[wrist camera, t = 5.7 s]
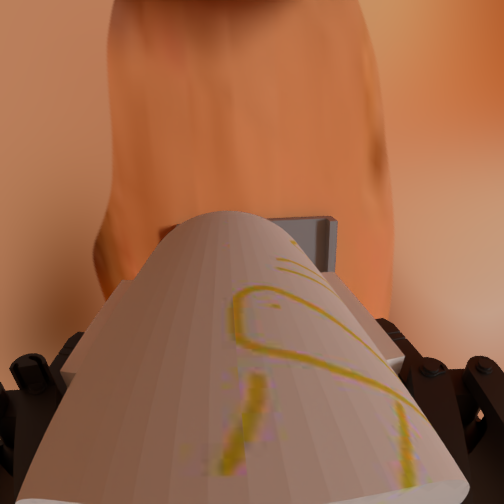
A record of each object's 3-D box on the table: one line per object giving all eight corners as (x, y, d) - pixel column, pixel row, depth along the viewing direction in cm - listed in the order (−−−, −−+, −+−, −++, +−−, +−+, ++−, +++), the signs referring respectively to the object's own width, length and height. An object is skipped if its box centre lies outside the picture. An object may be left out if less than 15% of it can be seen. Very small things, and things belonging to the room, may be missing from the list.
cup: (333, 323, 15) (448, 526, 4) (198, 382, 16) (191, 591, 4) (269, 178, 13) (520, 337, 1) (112, 261, 13) (-46, 476, 2)
